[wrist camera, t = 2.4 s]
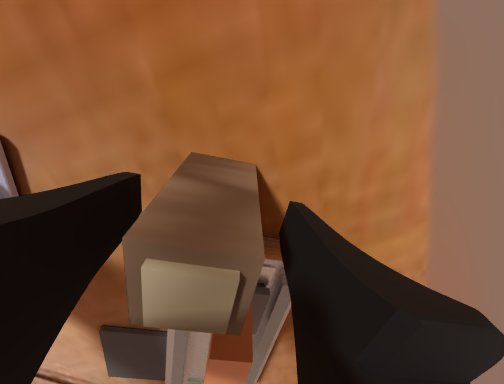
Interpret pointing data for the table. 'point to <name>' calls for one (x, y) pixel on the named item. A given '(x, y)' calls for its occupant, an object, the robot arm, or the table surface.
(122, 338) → the rubber pad
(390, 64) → the table surface
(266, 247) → the breaker panel
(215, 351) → the lever
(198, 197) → the brown rectangular block
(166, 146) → the table surface
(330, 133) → the table surface
